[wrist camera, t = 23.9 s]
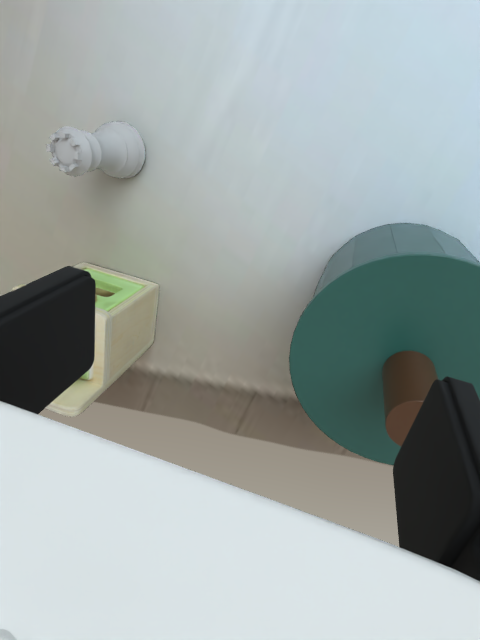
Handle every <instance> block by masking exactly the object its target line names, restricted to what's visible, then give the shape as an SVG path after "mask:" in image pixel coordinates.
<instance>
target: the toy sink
mask: <svg viewBox="0 0 480 640" xmlns="http://www.w3.org/2000/svg"><path fill="white" fill-rule="evenodd" d="M72 267H74V268H78V269H81V270H85V271H88V272H89V273H90V274H91V278H93V279H94V280H95V283H96V294H95V357H94V362H93V365H92V367H91V368H90V369H89V370H88V371H87V372H86V373H85V374H84V375H83V376H81V377H80V378H79V379H78V380H77V381H76V382H74V383H73V384H72V385H71V386H70V387H69V388H68V389H66V390H65V391H64V392H63V393H62V394H61V395H59V396H58V397H57V398H56V399H55V400H54V401H52V402H51V403H50V404H49V405H48V406H47V407H46V408H44V409H47V410H50V411H53V412H55V413H58V414H61V415H65V416H69V417H74V416H78V415H79V414H81V413H82V412H84V411H85V410H86V409H87V408H88V407H89V406H90V405H91V404H92V403H93V402H94V401H95V400H96V399H97V398H98V397H99V396H100V395H101V394H102V393H103V392H104V391H105V390H106V389H108V388H109V387H110V386H111V385H112V384H113V383H114V382H115V381H116V380H117V379H118V378H119V377H120V376H121V375H122V374H123V373H124V372H125V371H126V370H127V369H128V368H129V367H130V366H131V365H132V364H133V363H134V362H135V361H136V360H137V359H138V358H139V357H140V356H141V355H142V354H143V353H144V352H145V351H146V350H147V349H148V348H149V347H150V346H151V345H152V344H153V342H154V333H155V325H156V316H157V306H158V297H159V285H158V284H156V283H153V282H150V281H147V280H143V279H140V278H136V277H133V276H129V275H126V274H123V273H119V272H116V271H113V270H109V269H106V268H102V267H99V266H96V265H92V264H89V263H79V264H77V265H75V266H72ZM24 285H27V284H21V285H18V286H16V287H14V288H13V289H12V291H13V290H16V289H18V288H20V287H22V286H24Z"/></svg>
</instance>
